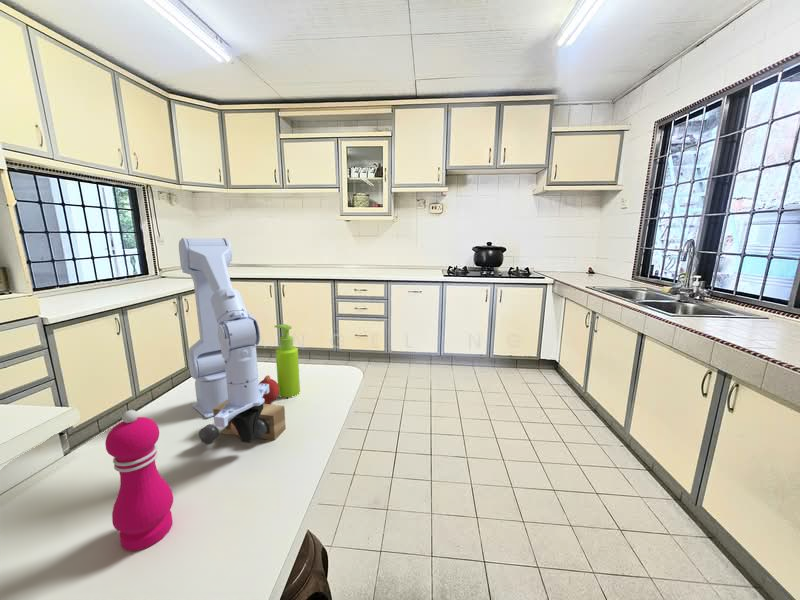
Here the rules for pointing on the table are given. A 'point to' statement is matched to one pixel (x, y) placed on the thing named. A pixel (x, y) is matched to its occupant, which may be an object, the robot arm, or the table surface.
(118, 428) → the pepper mill
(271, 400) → the onion
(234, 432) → the knob middle
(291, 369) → the soap dispenser
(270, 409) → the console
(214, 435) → the knob
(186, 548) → the table surface
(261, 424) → the knob
